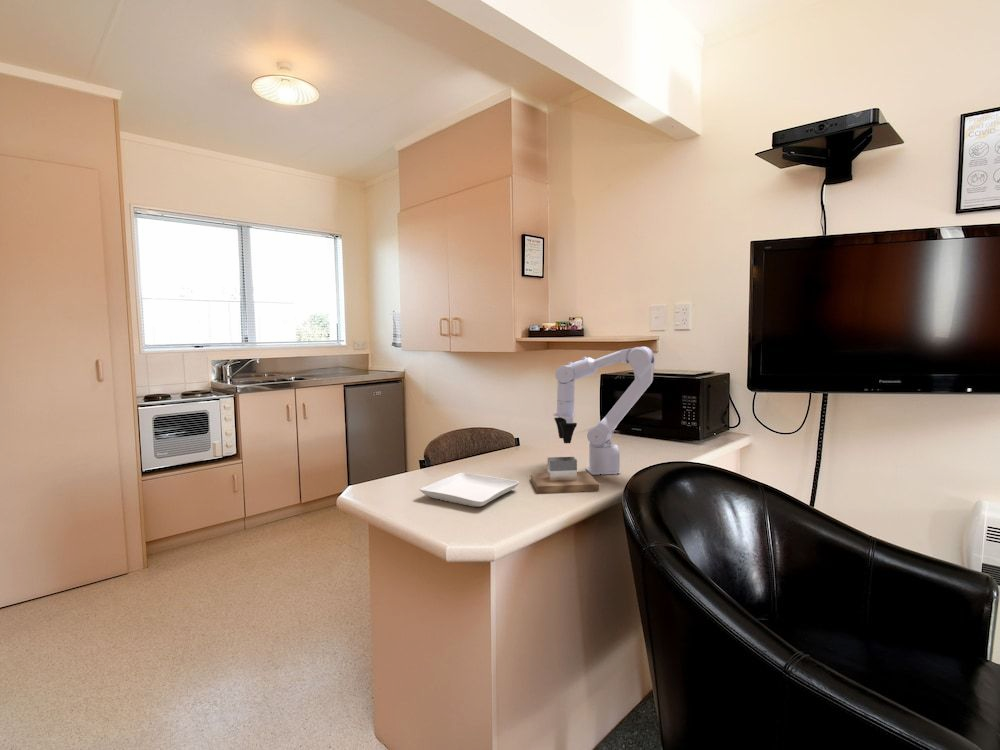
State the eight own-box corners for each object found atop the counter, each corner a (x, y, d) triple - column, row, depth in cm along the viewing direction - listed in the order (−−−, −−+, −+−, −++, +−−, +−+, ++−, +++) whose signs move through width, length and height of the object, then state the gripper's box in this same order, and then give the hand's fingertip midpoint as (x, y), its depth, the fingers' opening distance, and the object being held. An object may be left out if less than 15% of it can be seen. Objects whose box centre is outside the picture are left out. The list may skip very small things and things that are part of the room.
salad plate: (521, 491, 145) (521, 479, 145) (482, 513, 127) (481, 500, 127) (461, 481, 156) (461, 470, 156) (417, 501, 138) (417, 489, 137)
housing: (547, 476, 151) (547, 457, 151) (573, 475, 152) (573, 456, 151) (550, 481, 147) (550, 461, 146) (576, 480, 147) (576, 460, 147)
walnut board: (587, 477, 157) (587, 471, 157) (599, 490, 143) (599, 484, 143) (530, 479, 156) (530, 473, 156) (537, 493, 142) (537, 486, 142)
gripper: (550, 398, 174) (549, 436, 175) (558, 404, 160) (557, 445, 161) (569, 398, 175) (569, 436, 176) (579, 404, 160) (578, 445, 161)
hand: (564, 440), depth 168 cm, fingers open, 7 cm apart
